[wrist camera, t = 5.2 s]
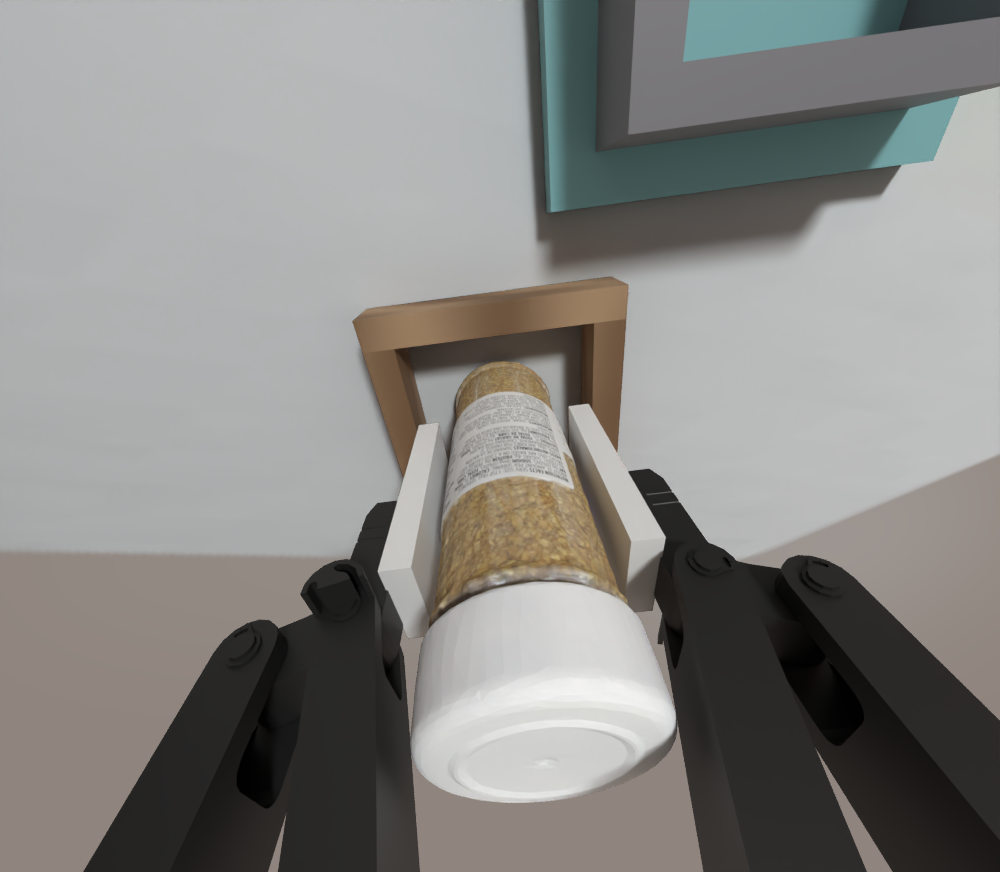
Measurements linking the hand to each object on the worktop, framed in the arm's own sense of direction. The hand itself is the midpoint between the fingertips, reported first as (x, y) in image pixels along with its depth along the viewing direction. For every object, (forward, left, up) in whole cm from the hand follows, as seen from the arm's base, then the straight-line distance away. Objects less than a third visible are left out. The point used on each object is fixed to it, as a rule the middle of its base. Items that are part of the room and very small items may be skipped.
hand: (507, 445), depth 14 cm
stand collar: (0, 0, -4) cm, 4 cm away
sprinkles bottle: (0, 0, -4) cm, 4 cm away
